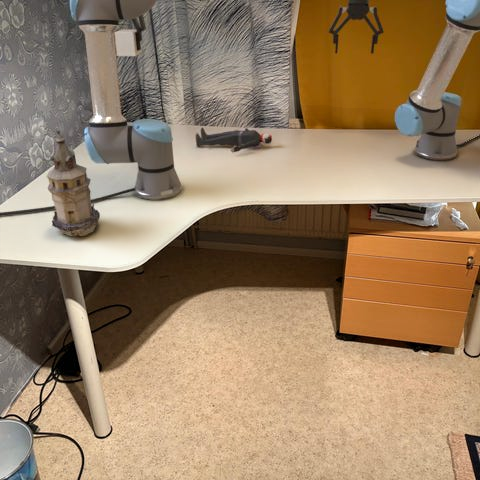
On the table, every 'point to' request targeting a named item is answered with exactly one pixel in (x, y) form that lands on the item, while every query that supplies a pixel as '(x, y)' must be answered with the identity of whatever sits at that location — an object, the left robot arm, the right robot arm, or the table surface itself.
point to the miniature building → (70, 193)
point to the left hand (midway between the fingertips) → (128, 49)
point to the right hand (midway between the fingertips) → (354, 52)
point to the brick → (126, 43)
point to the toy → (234, 139)
